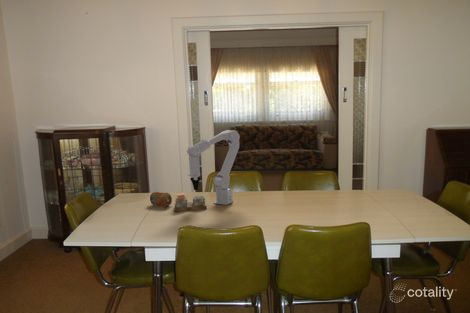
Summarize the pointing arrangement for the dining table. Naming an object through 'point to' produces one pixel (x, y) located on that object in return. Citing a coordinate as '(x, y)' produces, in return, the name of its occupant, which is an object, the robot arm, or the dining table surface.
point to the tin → (160, 199)
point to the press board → (190, 204)
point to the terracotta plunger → (181, 196)
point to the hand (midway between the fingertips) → (195, 189)
